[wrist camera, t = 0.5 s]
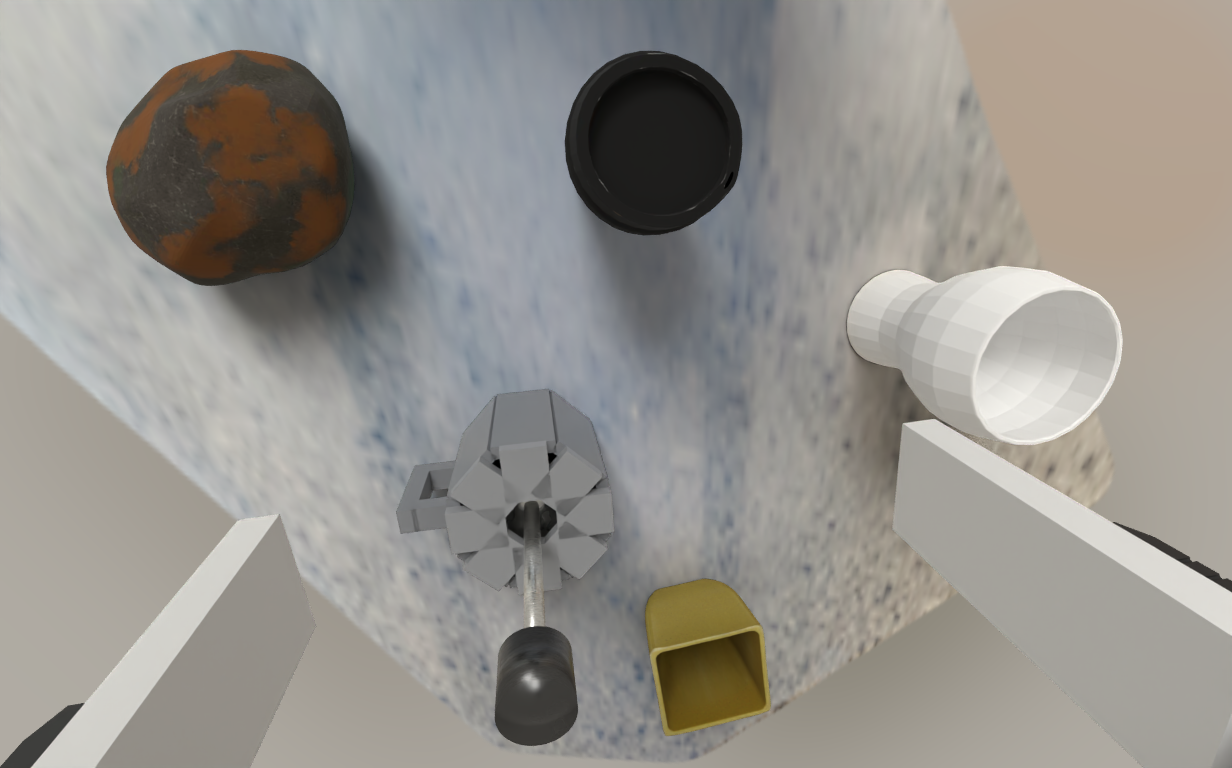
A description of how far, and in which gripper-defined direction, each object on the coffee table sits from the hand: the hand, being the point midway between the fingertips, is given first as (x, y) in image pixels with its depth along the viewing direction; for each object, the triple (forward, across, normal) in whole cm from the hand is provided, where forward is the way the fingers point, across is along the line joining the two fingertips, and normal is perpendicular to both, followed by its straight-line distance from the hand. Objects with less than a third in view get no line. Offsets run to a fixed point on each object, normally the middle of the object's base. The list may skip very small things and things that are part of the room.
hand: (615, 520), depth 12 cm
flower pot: (+31, +8, -30) cm, 44 cm away
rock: (+32, -17, +8) cm, 37 cm away
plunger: (+23, -3, -13) cm, 27 cm away
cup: (+32, +27, -6) cm, 42 cm away
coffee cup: (+32, +5, +8) cm, 34 cm away
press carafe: (+31, -5, -13) cm, 34 cm away
